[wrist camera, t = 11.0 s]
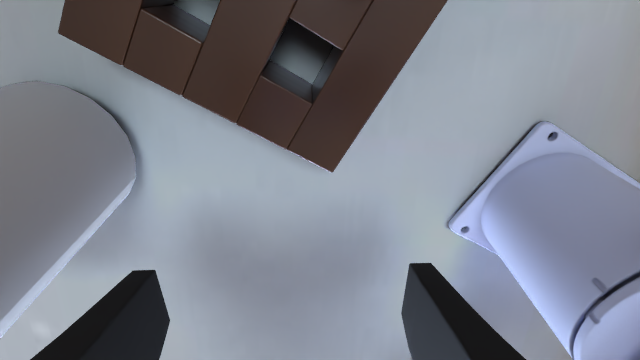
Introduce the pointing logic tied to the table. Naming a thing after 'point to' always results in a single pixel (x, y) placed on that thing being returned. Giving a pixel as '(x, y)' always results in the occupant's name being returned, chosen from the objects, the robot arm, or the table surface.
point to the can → (53, 184)
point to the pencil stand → (263, 60)
